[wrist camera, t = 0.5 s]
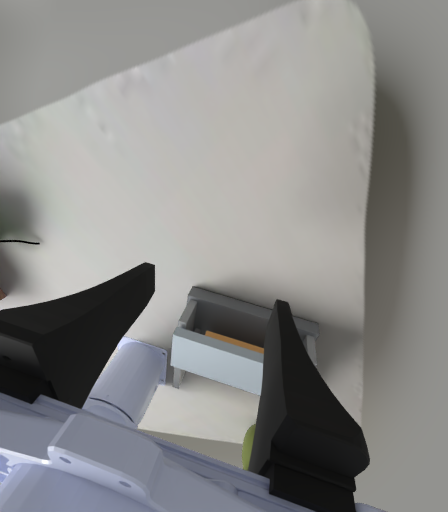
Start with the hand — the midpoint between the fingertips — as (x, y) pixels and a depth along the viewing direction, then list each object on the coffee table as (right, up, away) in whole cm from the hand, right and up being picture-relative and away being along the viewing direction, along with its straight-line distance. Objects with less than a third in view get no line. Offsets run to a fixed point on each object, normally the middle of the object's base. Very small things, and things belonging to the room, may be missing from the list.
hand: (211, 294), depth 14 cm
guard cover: (+2, -8, +10) cm, 14 cm away
